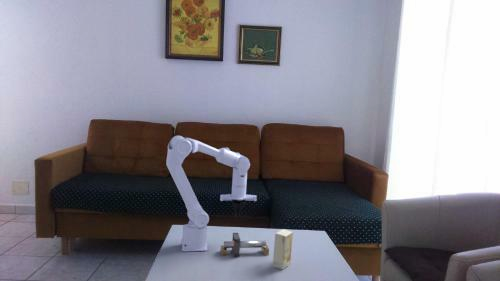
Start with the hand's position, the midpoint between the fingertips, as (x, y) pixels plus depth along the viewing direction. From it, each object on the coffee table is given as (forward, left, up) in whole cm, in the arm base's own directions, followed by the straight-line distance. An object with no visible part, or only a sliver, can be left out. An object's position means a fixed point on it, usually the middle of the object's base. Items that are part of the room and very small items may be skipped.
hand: (237, 217), depth 141 cm
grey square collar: (-1, -10, -10) cm, 15 cm away
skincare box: (+14, -20, -11) cm, 27 cm away
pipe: (+2, -10, -10) cm, 15 cm away
